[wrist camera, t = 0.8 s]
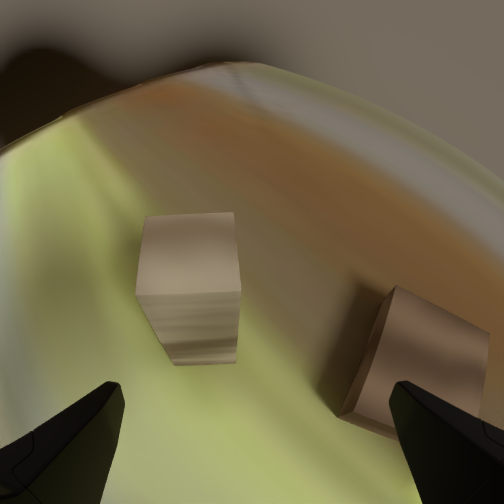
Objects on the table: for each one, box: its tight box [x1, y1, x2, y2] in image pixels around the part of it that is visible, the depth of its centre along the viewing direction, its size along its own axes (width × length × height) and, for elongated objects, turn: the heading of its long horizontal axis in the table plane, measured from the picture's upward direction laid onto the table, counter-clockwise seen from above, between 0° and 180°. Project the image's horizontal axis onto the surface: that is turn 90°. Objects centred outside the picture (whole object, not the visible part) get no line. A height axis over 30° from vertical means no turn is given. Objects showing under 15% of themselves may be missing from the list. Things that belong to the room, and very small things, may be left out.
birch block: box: [135, 212, 241, 366], centre depth 20 cm, size 5×5×12 cm
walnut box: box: [337, 285, 490, 441], centre depth 22 cm, size 12×12×4 cm
